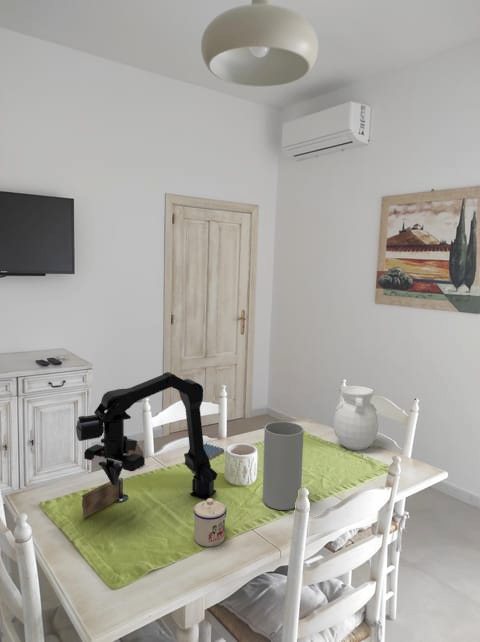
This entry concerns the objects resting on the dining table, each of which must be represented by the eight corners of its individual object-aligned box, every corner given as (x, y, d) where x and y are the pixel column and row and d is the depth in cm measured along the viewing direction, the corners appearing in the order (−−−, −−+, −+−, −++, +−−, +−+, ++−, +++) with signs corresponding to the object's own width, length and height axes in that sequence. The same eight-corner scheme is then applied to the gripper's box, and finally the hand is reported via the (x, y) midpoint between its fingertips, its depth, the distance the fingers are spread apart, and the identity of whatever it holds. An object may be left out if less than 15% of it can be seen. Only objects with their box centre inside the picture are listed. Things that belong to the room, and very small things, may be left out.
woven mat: (189, 455, 195) (189, 450, 195) (205, 447, 204) (205, 442, 204) (209, 461, 189) (209, 456, 189) (225, 453, 198) (225, 448, 198)
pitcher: (331, 436, 217) (334, 382, 214) (373, 439, 215) (376, 385, 211) (333, 453, 199) (336, 394, 196) (379, 456, 196) (383, 397, 193)
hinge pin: (131, 497, 159) (131, 477, 158) (121, 504, 155) (121, 483, 154) (119, 493, 162) (119, 474, 161) (109, 500, 157) (109, 480, 156)
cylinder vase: (275, 488, 167) (277, 419, 164) (307, 499, 160) (310, 427, 157) (255, 503, 157) (257, 429, 154) (288, 515, 150) (291, 438, 147)
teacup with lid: (211, 551, 131) (212, 511, 129) (186, 539, 136) (186, 501, 135) (237, 532, 141) (238, 494, 139) (213, 521, 146) (214, 485, 144)
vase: (139, 470, 179) (139, 448, 178) (121, 468, 180) (121, 446, 179) (146, 463, 186) (146, 441, 185) (129, 461, 187) (129, 439, 186)
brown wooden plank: (86, 517, 145) (85, 496, 144) (81, 515, 146) (81, 495, 145) (119, 498, 157) (119, 479, 156) (115, 496, 158) (114, 478, 157)
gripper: (156, 431, 146) (155, 480, 148) (108, 421, 154) (108, 467, 156) (132, 444, 136) (132, 496, 138) (82, 432, 144) (83, 481, 146)
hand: (114, 484), depth 145 cm, fingers closed
